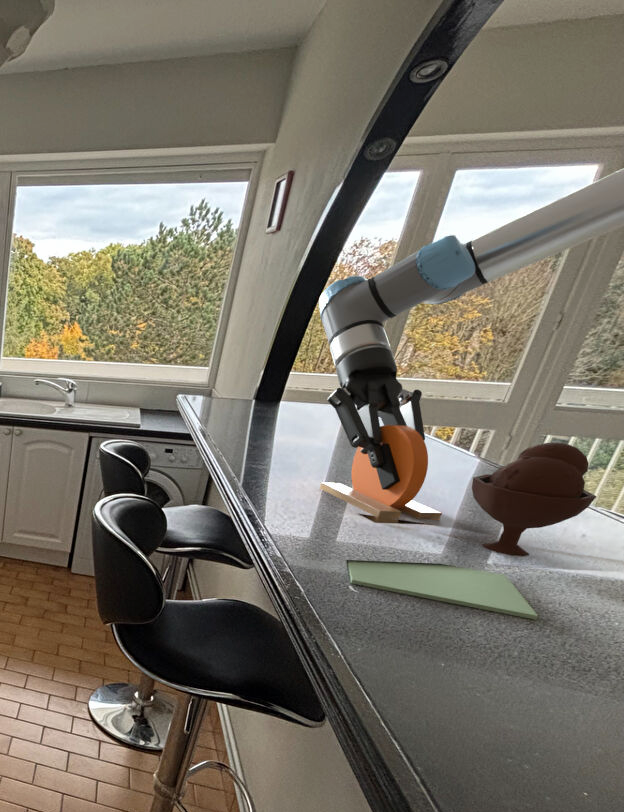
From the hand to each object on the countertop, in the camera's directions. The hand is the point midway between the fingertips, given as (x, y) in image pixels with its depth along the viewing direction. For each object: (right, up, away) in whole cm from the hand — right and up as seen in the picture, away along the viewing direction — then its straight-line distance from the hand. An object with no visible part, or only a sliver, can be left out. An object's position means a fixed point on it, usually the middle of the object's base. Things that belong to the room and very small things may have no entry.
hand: (400, 485), depth 88 cm
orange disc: (0, -3, +5) cm, 6 cm away
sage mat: (-12, -13, -18) cm, 25 cm away
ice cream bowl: (+5, -10, -10) cm, 15 cm away
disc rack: (0, -4, +6) cm, 7 cm away
